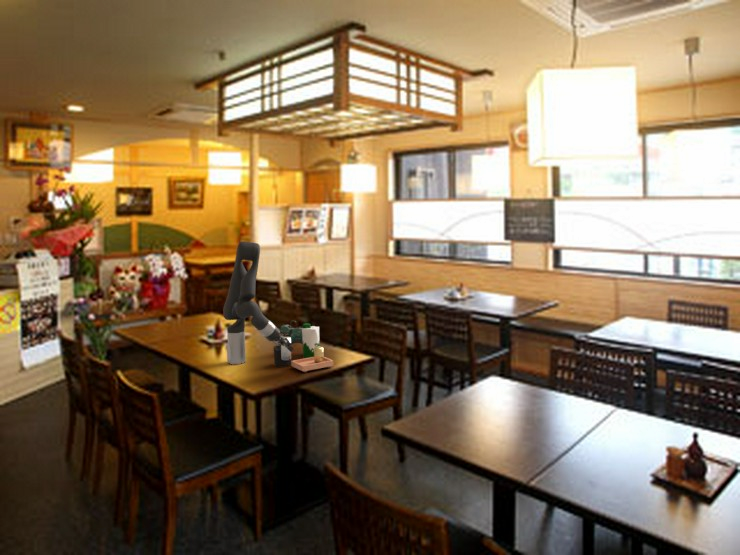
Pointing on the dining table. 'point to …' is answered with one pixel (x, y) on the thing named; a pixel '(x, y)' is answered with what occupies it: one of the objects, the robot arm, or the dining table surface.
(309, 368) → the pink tray
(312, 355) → the milk carton
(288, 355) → the steel spacer
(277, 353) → the pen holder
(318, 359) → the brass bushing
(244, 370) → the dining table surface
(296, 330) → the ceramic cat
